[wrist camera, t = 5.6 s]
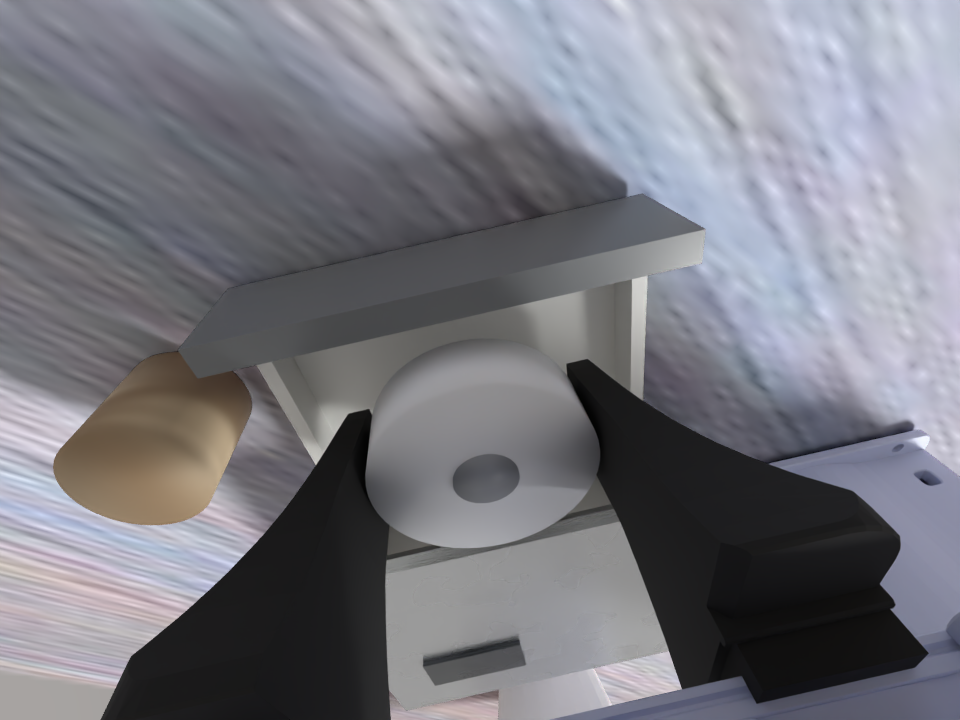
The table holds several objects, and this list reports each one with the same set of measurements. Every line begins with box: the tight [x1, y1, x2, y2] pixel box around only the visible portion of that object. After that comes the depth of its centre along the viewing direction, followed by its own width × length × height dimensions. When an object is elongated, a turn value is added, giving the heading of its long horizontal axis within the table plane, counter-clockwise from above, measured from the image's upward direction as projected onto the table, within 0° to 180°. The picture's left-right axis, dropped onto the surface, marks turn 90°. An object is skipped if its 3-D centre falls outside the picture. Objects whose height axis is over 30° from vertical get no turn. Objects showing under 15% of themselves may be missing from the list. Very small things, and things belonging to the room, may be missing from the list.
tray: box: [178, 194, 706, 560], centre depth 14 cm, size 12×11×3 cm
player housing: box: [385, 509, 669, 711], centre depth 19 cm, size 13×11×4 cm
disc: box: [365, 338, 600, 548], centre depth 11 cm, size 6×6×2 cm
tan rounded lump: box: [53, 352, 252, 525], centre depth 13 cm, size 4×4×4 cm
